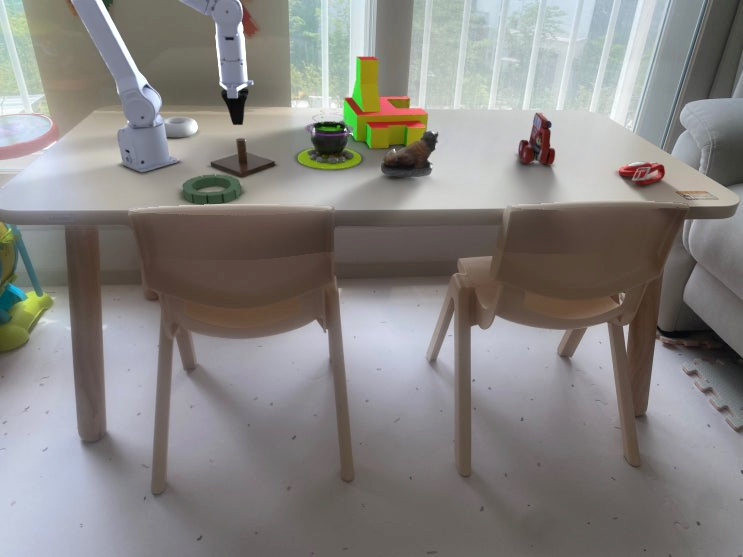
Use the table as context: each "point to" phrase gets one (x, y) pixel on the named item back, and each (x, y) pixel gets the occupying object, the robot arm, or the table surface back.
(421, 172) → the brown cat figurine
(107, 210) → the table surface
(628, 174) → the tracker holder
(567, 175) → the table surface
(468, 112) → the table surface
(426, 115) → the building blocks toy
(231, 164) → the post
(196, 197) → the ring
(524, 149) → the toy fire truck
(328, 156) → the toy cauldron
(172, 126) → the donut
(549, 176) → the table surface
